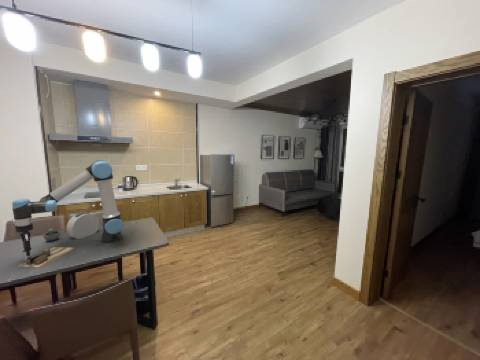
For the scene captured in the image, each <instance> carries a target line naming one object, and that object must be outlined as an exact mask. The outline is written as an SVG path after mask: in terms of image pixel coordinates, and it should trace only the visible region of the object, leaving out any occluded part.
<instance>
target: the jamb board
mask: <svg viewBox="0 0 480 360" xmlns="http://www.w3.org/2000/svg"><path fill="white" fill-rule="evenodd" d="M49 249H50V253H51V255H50V256H47V255H41V256H39V257H37V258H36V259H34V263H33V264H27V263H26V261H24V262H22V263H20V264H18V267H21V268H23V267H24V268H25V267H27V268H28V267H29V268H44V267H46V266H47V265H50V264H51V263H53V262H54V261H56V260H57V259H59V258H61V257H63V256H65V255H66V254H68V253H69V252H71V251H73V250H75V249H76V247H60V246H59V247H58V246H57V247H52V248H49Z"/></svg>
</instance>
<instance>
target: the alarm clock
mask: <svg viewBox="0 0 480 360" xmlns="http://www.w3.org/2000/svg"><path fill="white" fill-rule="evenodd" d="M99 227H100V221H99V218H98V217H97V216H96V215H95V214H93V213H90V212H87V211H84V212H79V213H77V214H74V215H73V216H71V218H70V219H69V221H68V222H67V224H66V227H65V229H66V234H67V235H68V236H69V237H70V238H72V239H76V240H81V239H84V238H87V237H89V236H92V235H94V234H96V233H97V231H99Z"/></svg>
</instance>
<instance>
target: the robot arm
mask: <svg viewBox="0 0 480 360" xmlns="http://www.w3.org/2000/svg"><path fill="white" fill-rule="evenodd" d="M113 179H114V176H113V167H112V165H111V164H110V163H109V162H107V161H105V160H101V159H98V160H96V161H94V162H92V163H91V164H90V165H89V166H87V167H86V168H85V169H84V171H82V172H81V173H79V174H78V175H76V176H75V177H73V178H71V179H70V180H68V181H67V182H66V183H63V184H62V185H60V186H59V187H58V188H56V189H54V190H53V191H51V192H50V193H47V194H46V195H45V196H42V197H41V198H40V199H39V201H30V198H20V199H19V198H18V199H15V200H13V201H12V202H11V206H12V208H11V209H12V213H13V220H12V222H13V223H14V225H15V226H14V229H15V232H16V233H20V237H21V241H22V246H23V251H22V252H23V253H24V260H25V261H26V259H27V258H29V257H31V256H32V246H31V232H30V231H32V230H33V229H34V224H33V216H32V215H36V214H44V213H51V212H56V211H57V209H58V207H57V206H58V205H57V203H59V202H60V201H62V200H63V199H65V198H66V197H67V196H69V195H71V194H72V193H74V192H75V191H77V190H79V188H81V187H83V186H84V185H87V183H89V182H91V181H92V180H93V181H94V182H95V183H97V187H98V192H99V196H100V197H99V198H100V201H101V206H102V210H103V213H101V218H102V220H101V221H102V228H103V229H102V234H101V237H100V240H101V242H102V243H106V244H107V243H114V242H115V243H116V242H117V241H120V240H122V239H123V238H124V233H123V232H122V230H123V227H124V222H123V218H122V216H121V212H120V211H119V210H118V209H117V207H118V206H117V202H116V198H115V192H114V187H113V184H112V183H113V182H112V181H113Z"/></svg>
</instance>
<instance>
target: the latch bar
mask: <svg viewBox="0 0 480 360" xmlns="http://www.w3.org/2000/svg"><path fill="white" fill-rule="evenodd" d="M50 249H51V248H46V249H44V250H41V251H40V252H37V253H35V254H33V255H31V257H29V258H27V259H26V260H25V262H26V263H27V264H33V263H34V259H36V258H37V257H39V256H41V255H47V256H50V255H51V253H50Z"/></svg>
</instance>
